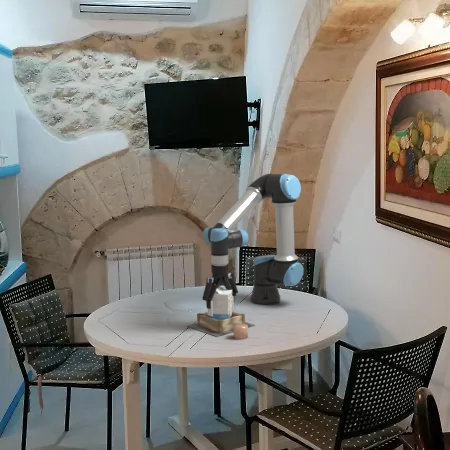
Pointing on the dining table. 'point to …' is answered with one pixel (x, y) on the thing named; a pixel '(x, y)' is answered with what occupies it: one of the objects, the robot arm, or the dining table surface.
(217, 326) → the crate
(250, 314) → the dining table surface
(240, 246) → the robot arm
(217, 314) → the ink box
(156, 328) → the dining table surface
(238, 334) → the brown egg
